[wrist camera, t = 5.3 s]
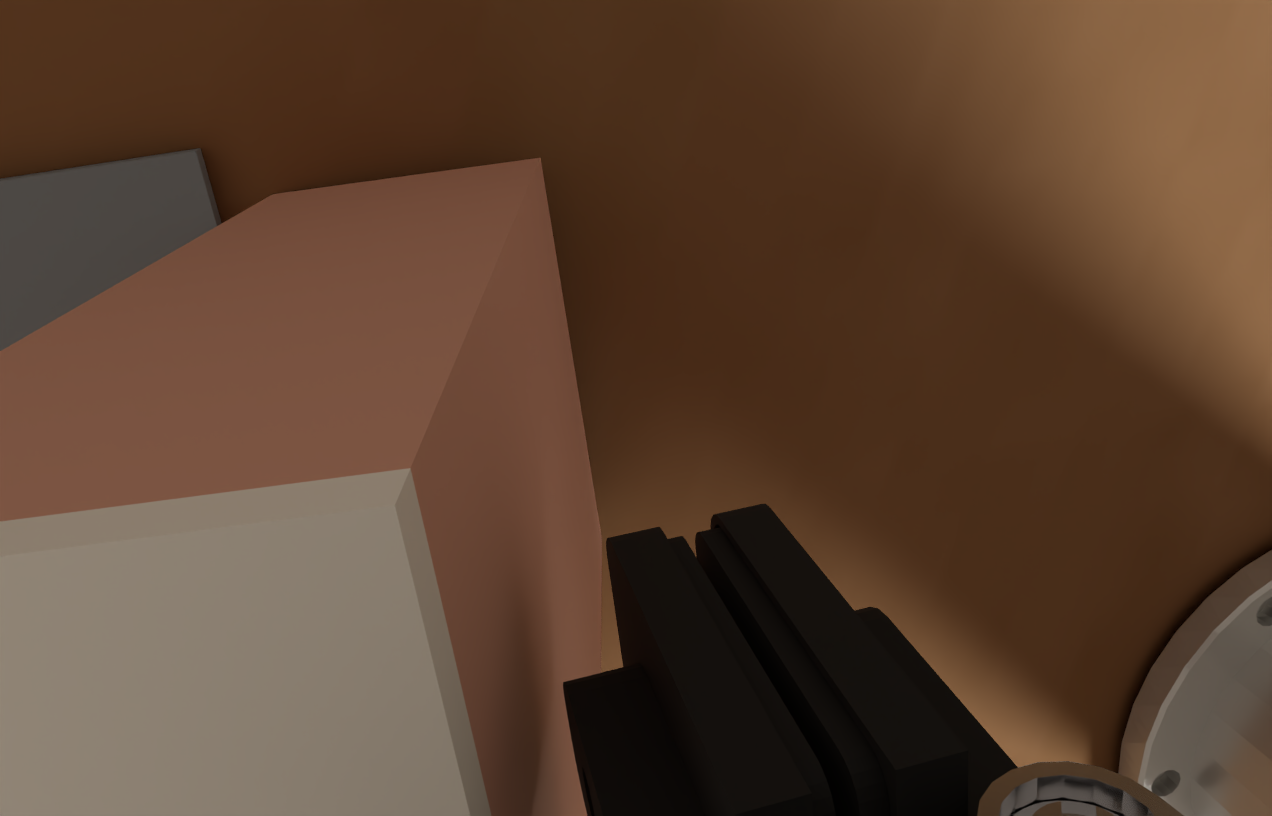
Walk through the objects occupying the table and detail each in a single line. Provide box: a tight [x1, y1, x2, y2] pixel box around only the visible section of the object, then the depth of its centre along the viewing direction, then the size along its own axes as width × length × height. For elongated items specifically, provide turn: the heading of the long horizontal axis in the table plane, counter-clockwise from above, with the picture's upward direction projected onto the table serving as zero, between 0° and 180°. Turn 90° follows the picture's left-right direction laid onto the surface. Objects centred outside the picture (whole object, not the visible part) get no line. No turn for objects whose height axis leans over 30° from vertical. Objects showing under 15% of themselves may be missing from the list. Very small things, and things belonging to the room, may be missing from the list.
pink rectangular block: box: [0, 158, 602, 816], centre depth 14 cm, size 5×8×14 cm, turn 8°
